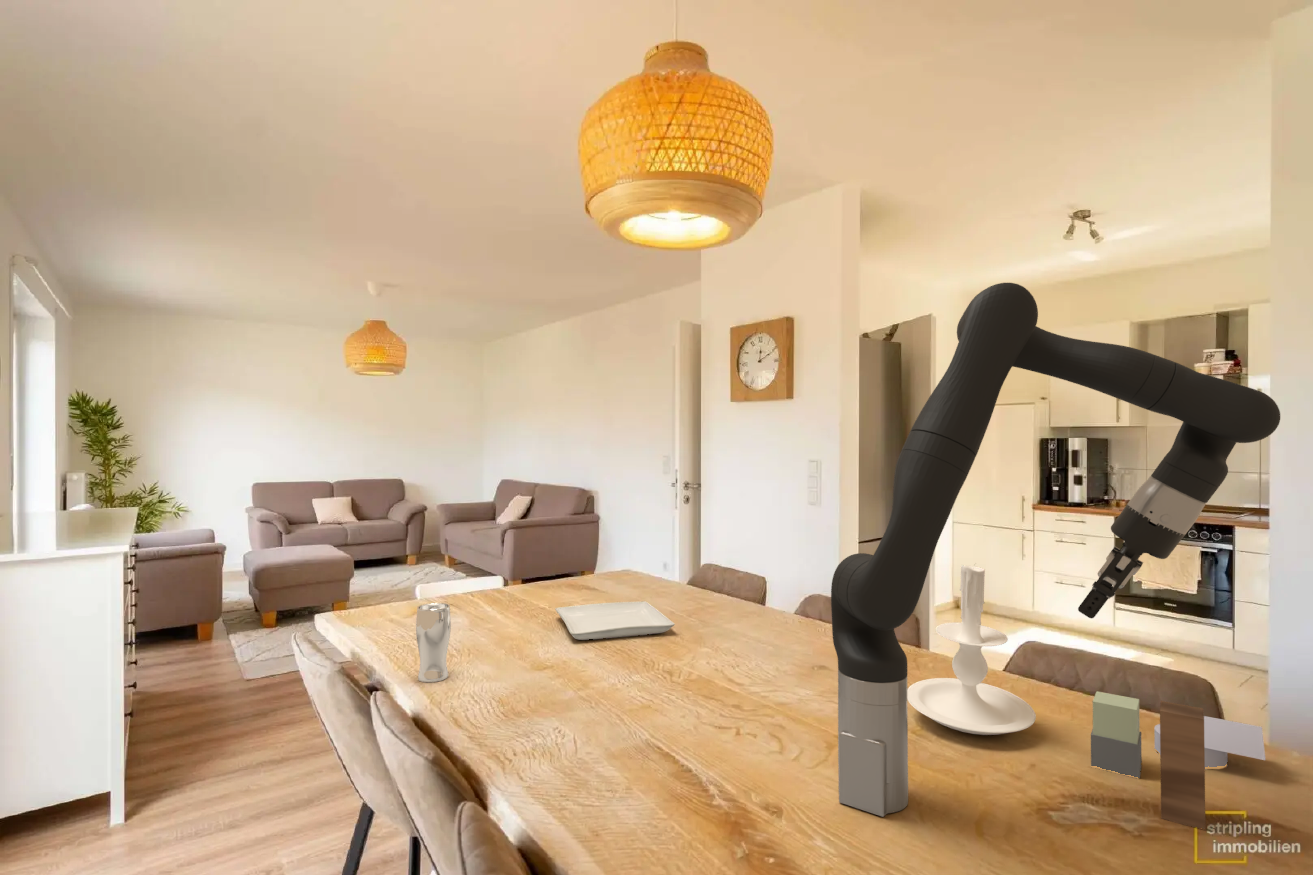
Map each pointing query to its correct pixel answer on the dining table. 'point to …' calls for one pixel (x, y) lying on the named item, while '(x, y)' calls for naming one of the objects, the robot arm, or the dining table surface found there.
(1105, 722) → the tower top
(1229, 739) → the wedge on round base
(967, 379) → the robot arm
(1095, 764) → the tower base
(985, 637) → the candlestick
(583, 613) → the square plate
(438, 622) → the beer glass
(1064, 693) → the dining table surface
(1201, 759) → the walnut pillar
